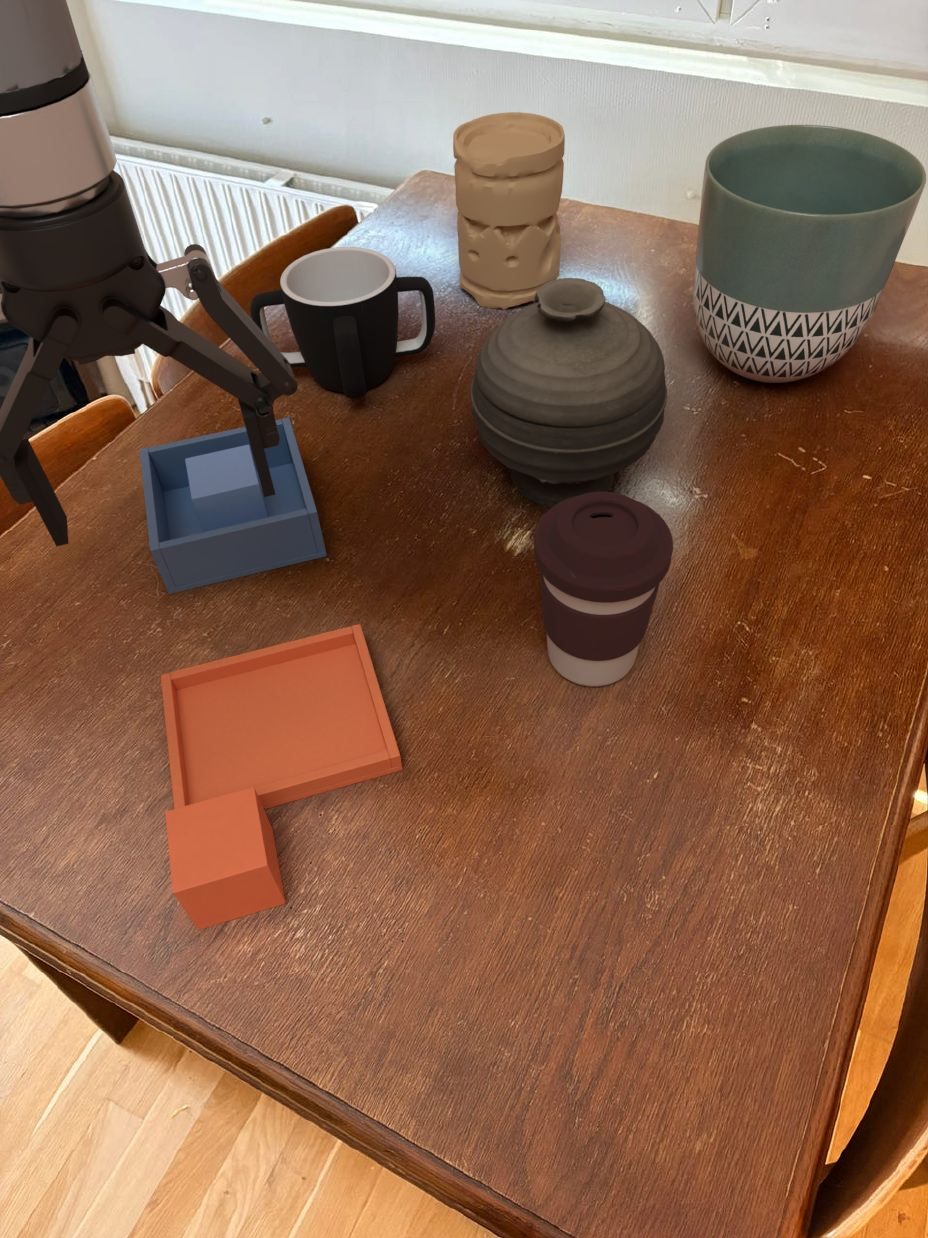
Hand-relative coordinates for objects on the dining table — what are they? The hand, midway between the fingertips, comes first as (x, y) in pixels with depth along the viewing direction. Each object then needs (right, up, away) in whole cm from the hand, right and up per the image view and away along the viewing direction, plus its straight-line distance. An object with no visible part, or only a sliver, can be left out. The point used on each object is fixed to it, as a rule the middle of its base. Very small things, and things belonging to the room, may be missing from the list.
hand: (166, 507), depth 60 cm
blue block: (-2, +2, +26) cm, 26 cm away
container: (+26, +35, +54) cm, 69 cm away
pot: (+30, +7, +29) cm, 42 cm away
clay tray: (+5, -16, +11) cm, 20 cm away
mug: (+7, +21, +43) cm, 48 cm away
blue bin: (-2, +2, +27) cm, 27 cm away
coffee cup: (+31, -11, +15) cm, 35 cm away
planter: (+54, +21, +40) cm, 70 cm away
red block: (+4, -26, +3) cm, 26 cm away
